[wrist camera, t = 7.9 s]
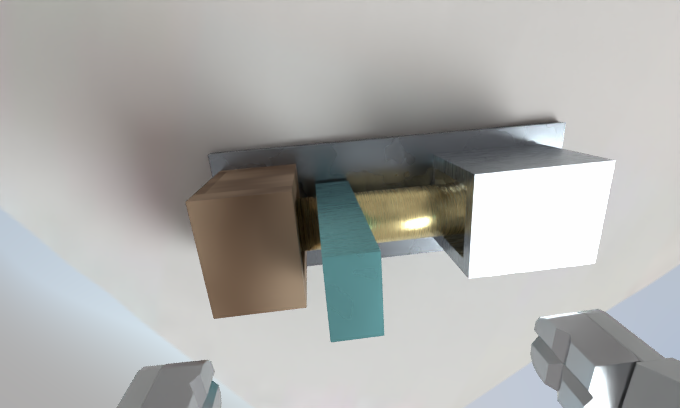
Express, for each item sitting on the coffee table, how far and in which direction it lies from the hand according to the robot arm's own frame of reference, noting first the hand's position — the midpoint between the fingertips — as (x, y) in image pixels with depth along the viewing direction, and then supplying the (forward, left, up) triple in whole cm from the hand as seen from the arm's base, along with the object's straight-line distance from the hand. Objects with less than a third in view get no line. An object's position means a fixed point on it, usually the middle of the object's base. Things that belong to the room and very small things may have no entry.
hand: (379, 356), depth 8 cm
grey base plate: (+1, +3, -14) cm, 14 cm away
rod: (+1, +3, -13) cm, 13 cm away
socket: (+1, -4, -14) cm, 15 cm away
